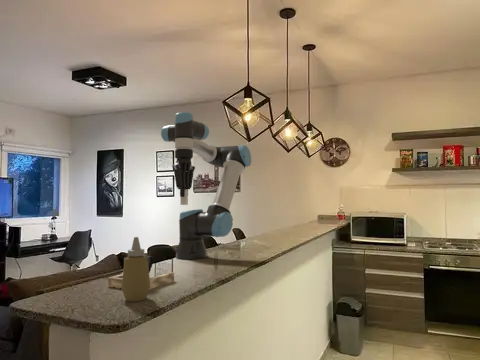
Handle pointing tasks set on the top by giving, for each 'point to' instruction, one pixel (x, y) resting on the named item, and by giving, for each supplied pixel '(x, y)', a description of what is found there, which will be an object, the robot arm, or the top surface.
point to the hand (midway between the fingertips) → (184, 204)
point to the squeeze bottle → (135, 274)
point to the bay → (154, 282)
